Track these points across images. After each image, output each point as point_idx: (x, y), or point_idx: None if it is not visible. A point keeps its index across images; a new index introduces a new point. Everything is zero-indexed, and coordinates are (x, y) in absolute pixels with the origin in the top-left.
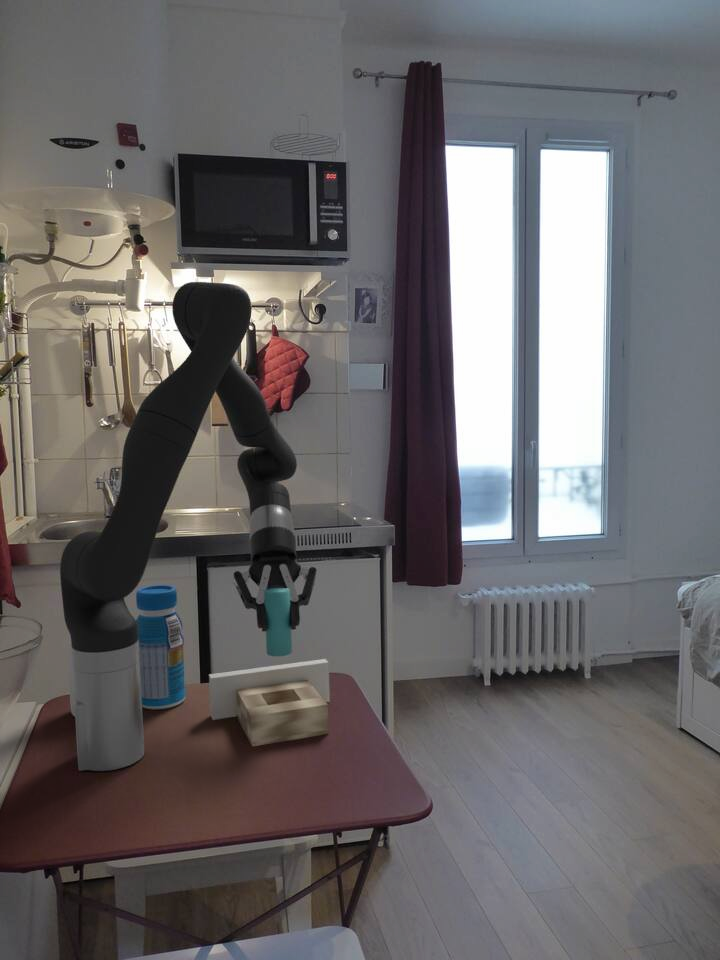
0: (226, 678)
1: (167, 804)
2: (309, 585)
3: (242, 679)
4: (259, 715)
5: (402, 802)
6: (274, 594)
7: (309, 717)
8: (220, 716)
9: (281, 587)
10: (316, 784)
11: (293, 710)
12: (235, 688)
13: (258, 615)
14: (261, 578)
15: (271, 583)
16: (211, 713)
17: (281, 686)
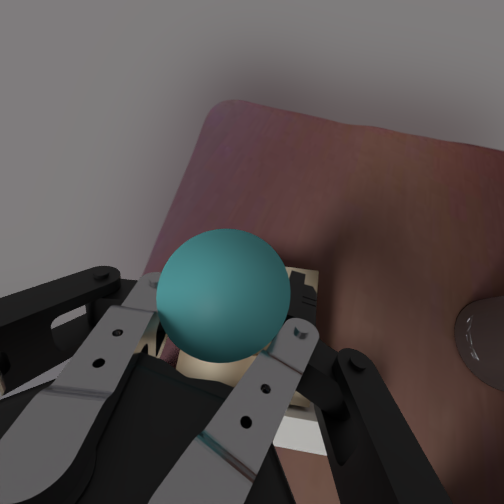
0: None
1: (425, 195)
2: (39, 293)
3: (297, 414)
4: (305, 269)
5: (225, 113)
6: (259, 239)
7: None
8: None
9: (173, 342)
10: (276, 167)
11: None
12: (310, 413)
13: (310, 306)
14: (273, 432)
15: (210, 393)
16: None
17: (228, 374)
